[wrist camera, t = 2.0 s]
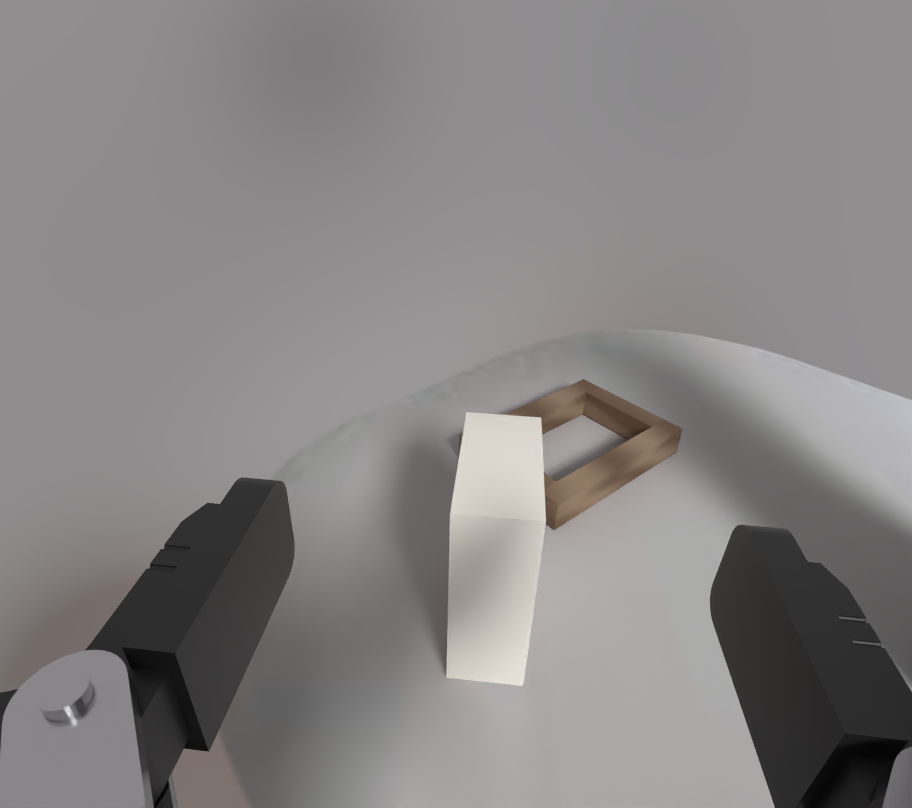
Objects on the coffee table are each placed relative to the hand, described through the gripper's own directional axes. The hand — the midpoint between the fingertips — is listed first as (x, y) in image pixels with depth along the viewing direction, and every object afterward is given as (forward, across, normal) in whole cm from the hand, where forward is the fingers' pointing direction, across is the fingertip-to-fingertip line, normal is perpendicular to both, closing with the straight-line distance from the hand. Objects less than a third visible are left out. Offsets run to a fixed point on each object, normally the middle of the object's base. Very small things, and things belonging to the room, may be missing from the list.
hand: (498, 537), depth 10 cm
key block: (+12, 0, +17) cm, 21 cm away
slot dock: (+26, -5, +17) cm, 32 cm away
